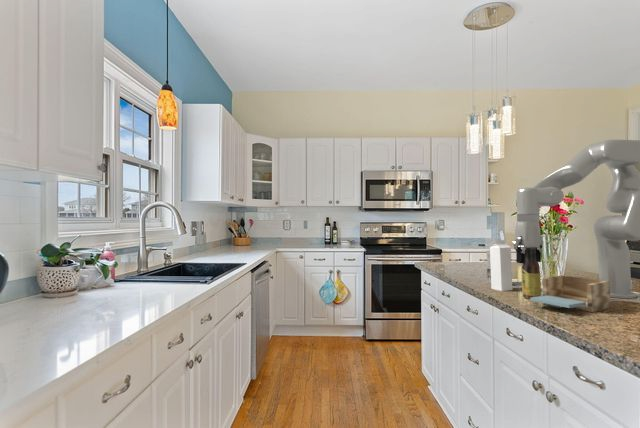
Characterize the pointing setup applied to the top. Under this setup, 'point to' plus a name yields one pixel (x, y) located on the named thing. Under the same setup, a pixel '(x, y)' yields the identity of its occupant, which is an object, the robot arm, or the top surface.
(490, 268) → the coffee box
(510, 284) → the milk
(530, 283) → the sauce bottle
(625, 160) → the robot arm
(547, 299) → the door
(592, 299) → the cabinet
